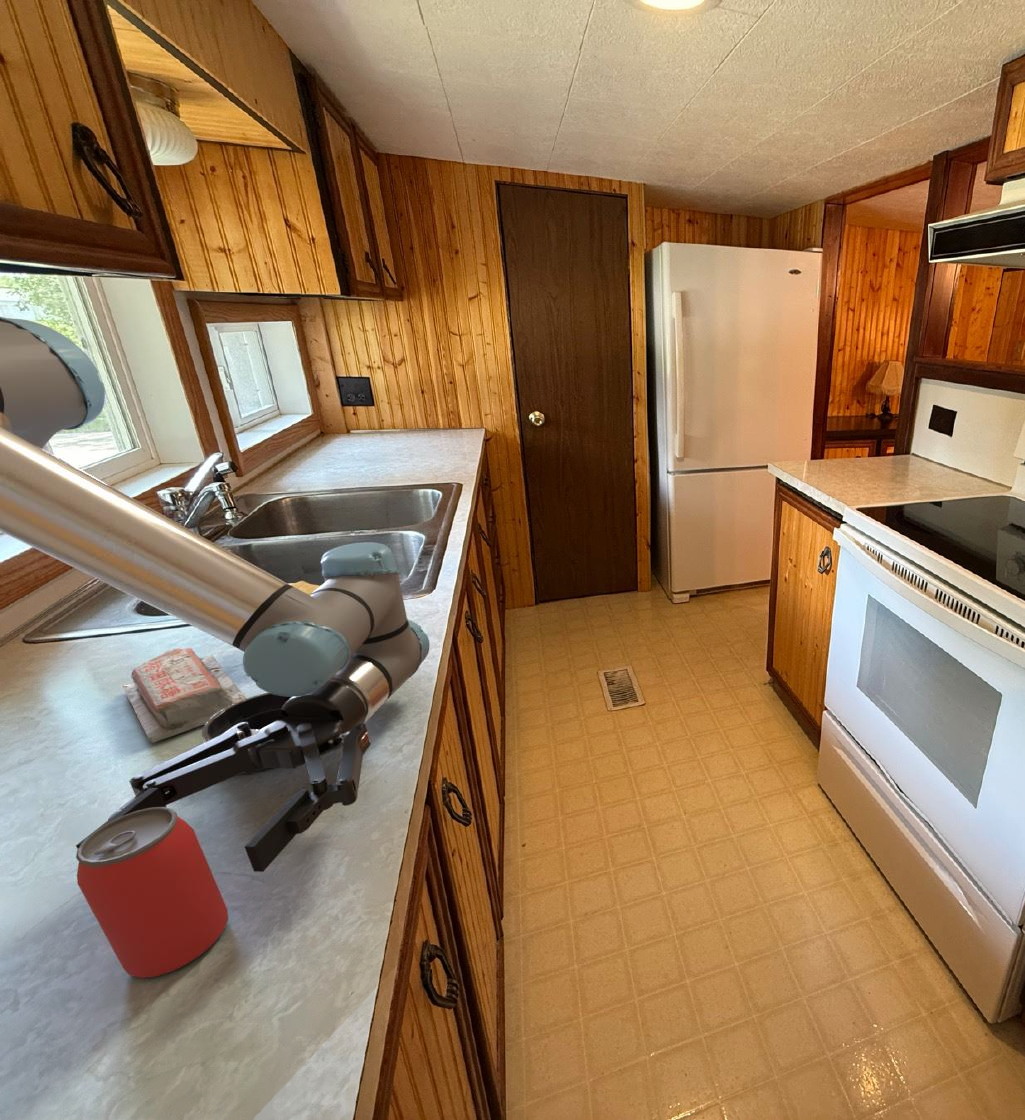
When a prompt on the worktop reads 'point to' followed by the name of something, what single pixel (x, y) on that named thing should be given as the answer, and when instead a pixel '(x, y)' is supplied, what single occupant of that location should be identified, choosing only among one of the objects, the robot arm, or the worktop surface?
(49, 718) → the worktop surface
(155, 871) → the beer can
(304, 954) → the worktop surface
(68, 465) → the robot arm
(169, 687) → the packaged product
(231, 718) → the bowl
